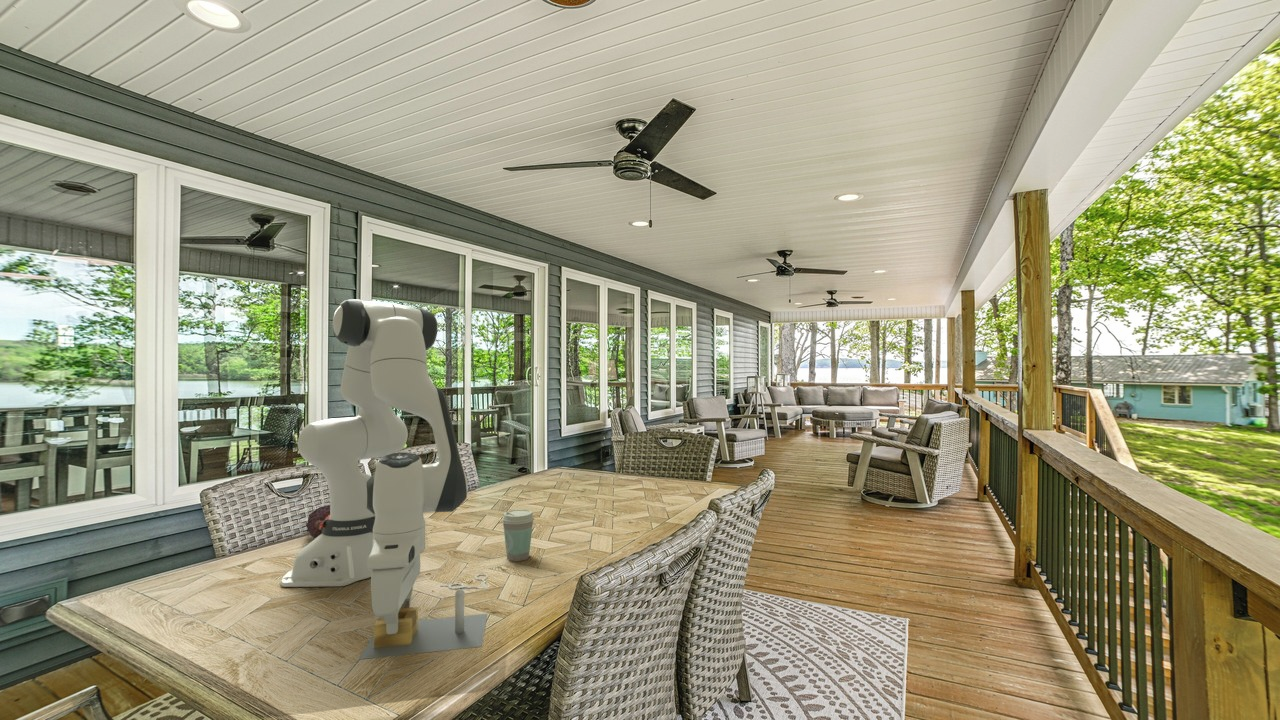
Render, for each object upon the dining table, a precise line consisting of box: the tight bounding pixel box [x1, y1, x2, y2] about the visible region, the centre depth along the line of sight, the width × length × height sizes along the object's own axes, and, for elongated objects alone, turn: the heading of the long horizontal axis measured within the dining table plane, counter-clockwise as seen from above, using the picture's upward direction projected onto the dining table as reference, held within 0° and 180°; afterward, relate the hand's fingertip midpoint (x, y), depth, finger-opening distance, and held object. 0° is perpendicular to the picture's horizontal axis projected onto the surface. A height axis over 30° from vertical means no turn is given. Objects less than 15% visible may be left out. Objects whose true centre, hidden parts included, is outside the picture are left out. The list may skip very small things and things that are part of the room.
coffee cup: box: [501, 509, 535, 562], centre depth 142 cm, size 8×9×12 cm
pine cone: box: [305, 504, 330, 540], centre depth 159 cm, size 18×10×10 cm, turn 50°
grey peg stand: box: [357, 588, 489, 661], centre depth 97 cm, size 20×13×9 cm, turn 102°
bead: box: [373, 606, 419, 648], centre depth 96 cm, size 6×6×4 cm
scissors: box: [440, 573, 520, 597], centre depth 121 cm, size 11×1×20 cm
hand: (399, 620), depth 95 cm, fingers open, 8 cm apart
